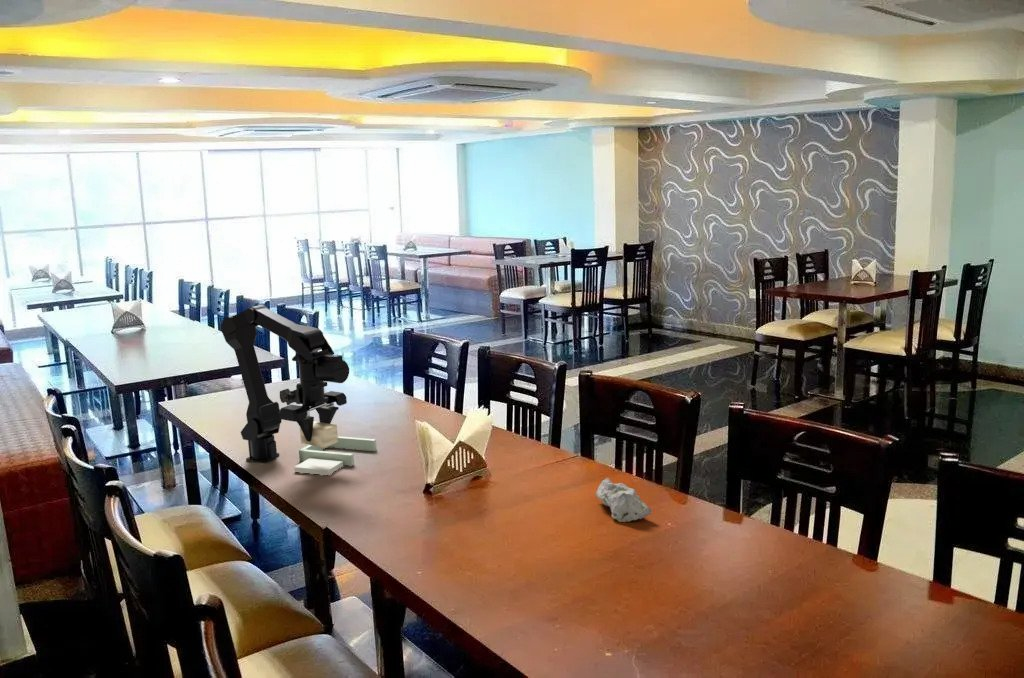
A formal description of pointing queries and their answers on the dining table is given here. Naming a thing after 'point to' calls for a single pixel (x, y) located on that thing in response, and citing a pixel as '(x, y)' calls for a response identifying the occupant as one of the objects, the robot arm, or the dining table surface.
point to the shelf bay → (342, 442)
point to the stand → (318, 466)
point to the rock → (622, 501)
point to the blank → (321, 435)
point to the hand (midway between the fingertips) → (316, 438)
